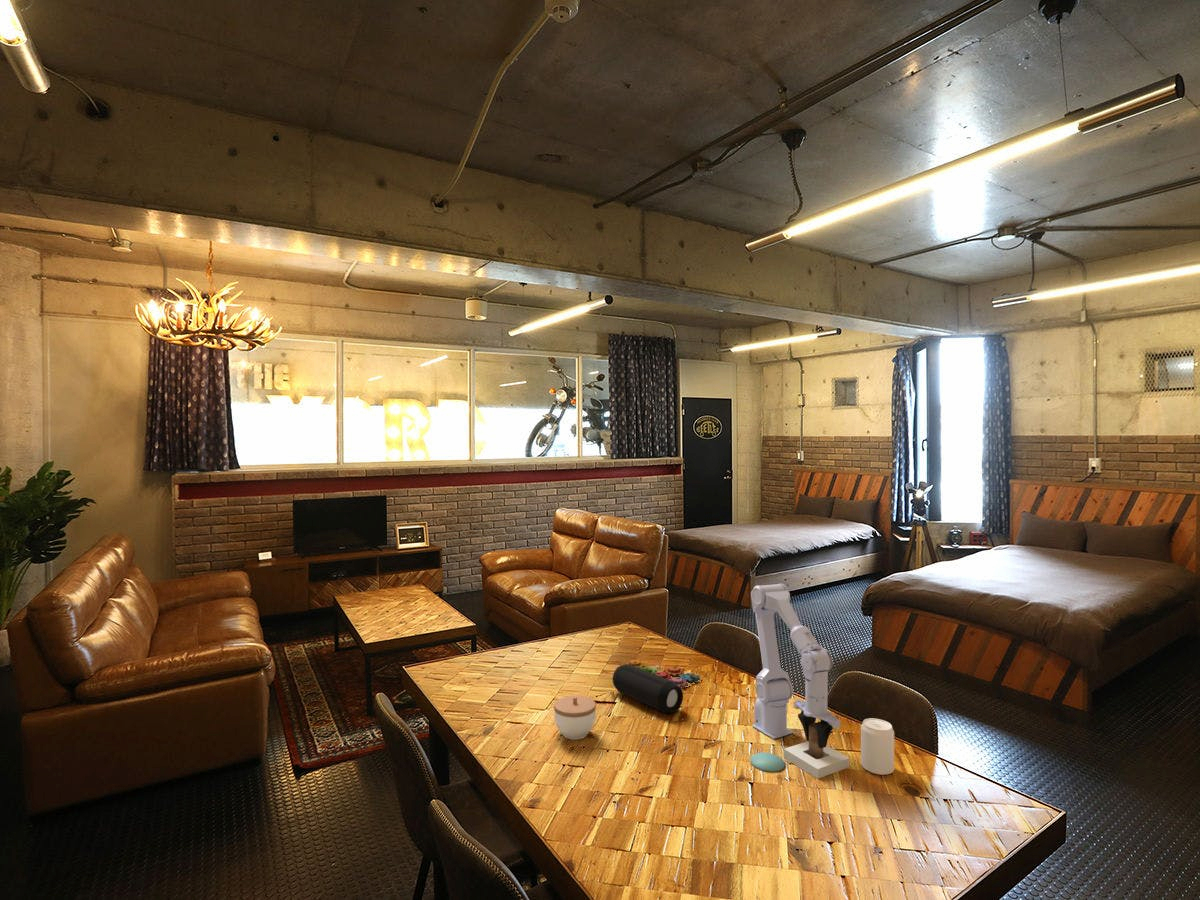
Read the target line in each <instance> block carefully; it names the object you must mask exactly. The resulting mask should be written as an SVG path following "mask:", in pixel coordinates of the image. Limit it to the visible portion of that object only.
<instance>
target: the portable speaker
mask: <svg viewBox="0 0 1200 900" xmlns="http://www.w3.org/2000/svg"><path fill="white" fill-rule="evenodd" d="M612 685H613V686H614V689H616V690H617V691H618V692H619V693H620V694H622V695H625V696H627V697H629V698H630V699H635V700H636V701H639V702H641V703H643V704H645V705H646V706H647V705H648V706H649V707H651V708H653V709H656V710H658V711H660V712H662V713H665V714H668V713H669V714H670V713H676V712H677V711H678V710H679V709H680V708H681V707H682V704H683V699H684V692H683V690H681V688H680V687H679V686H678V685H677V684H676V683H675V682H673V681H670V680H667V679H665V678H662V677H660V676H657V675H655V674H652V673H650V672H647V671H645V670H642V669H640V668H637V667H635V666H632V665H629V664H626V665H625V664H620V665H619V666H617V667H616V669H615V670H614V672H613V675H612Z"/></svg>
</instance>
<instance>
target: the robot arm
mask: <svg viewBox="0 0 1200 900" xmlns="http://www.w3.org/2000/svg"><path fill="white" fill-rule="evenodd" d="M750 599H751V606H752V611H753V613H754V615H755V621H756V627H757V635H758V643H759V648H760V649H759V650H760V654H761V655H760V657H761V662H762V670H760V672H759V673H758V674H757V675H756V676H755V680H756V685H755V693H756V696H757V698H756V700H755V702H754V706H753V707H754V709H753V711H754V719H753V720H754V724H752V725H751V726H752V727H753V728H754V729H756V730H758V731H760V732H761V733H763V734H765V735H766V736H768V737H770V738H771V739H773V740H776V739H778V738H782V737H785V736H788V735H791V734H794V731H793V730H791V729H790V728H788V727H787V726H788V723H787V722H788V721H787V720H788V719H787V718H788V717H787V715H788V714H787V713H788V710H787V709H788V705H787V704H790V700H791V699H792V697H793V695H794V687H793V685H792V683H791V682H792V681H791V680H790V677H789V676H790V675H789V673H787V672H786V671H785V670H784V669H782V668H781V667H782V666H781V661H780V653H779V648H778V647H779V646H778V642H777V641H778V640H777V634H776V627H775V620H774V615H775V613H777V614H778V615H779V616H780V618H781V619H782V620H783V622H784V623H785V625H786V627H787V628H788V630H790V634H789V638H790V640H791V641H792V643H793V645H794V646H795V648H796V650H797V651H798V653H799V654H800V656H801V658H800V664H801V667H802V671H803V674H802V675H803V676H804V678H805V679H804V680H805V683H804V685H805V688H804V689H805V690H804V692H805V694H804V697H805V699H804V700H805V701H803V700H800V699H796V700H794V701H793V709H795V710H800V712H799V713H798V714H797V718H798V720H799V722H800V724H801V725H802V728H803V732H804V737H805V740H806V742H807V741H809V724H811V723H815V726H816V729H817V734H818V746H819V748H824V747H826V745H827V744H828V741H829V737H830V735H831V732H832V731H833V729H834V730H836V729H838V728H841V719H839V718H837V717H836V716H835V715H833V714H832V713H831V712H830V711H829V710H828V686H829V684H828V677H829V675H828V674H829V673H828V672H829V671H830V670H832V667H833V658H832V655H831V653H830V651H829V650H828V649H826V648H824V647H823V646H822V645H819V642H818V641H817V640H816V638H815V636H814V635H813V634H812V633H811V632H812V631H810V629H809V627H807V626H804V625H802V624H801V621H800V620H799V618H798V615H797V614H796V611H795V610H794V608H793V606H792V604H791V602H790V601H791V593H790V592H789V590H788V588H787V586H786V585H785V584H784V583H774V584H765V585H764V584H761V585H759V584H758V585H755V586H754V587H753V589H752V590H751V592H750ZM817 719H818V720H819V721H818V722H816V721H817ZM827 746H828V745H827Z"/></svg>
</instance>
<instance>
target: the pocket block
mask: <svg viewBox="0 0 1200 900" xmlns="http://www.w3.org/2000/svg"><path fill="white" fill-rule="evenodd" d="M783 758H784V759H785V760H787V761H788V762H790V763H792V764H793V765H795V766H796V767H798V768H799V769H801V770H803V771H805V772H806V773H808V774H809V775H811V776H813V777H814V778H816V779H818V780H819V779H821V778H823V777H826V776H828V775H829V776H830V775H833V774H835V773H837V772H840V771H842V770H846V769H848V768H850V757H849V756H847V755H845V754H843V753H841V752H839V751H838V750H836V749H834V748H832V747H830V746H828V745H826V747H824V748H823V758H820V759H815V758H813V757H811V756H810V755H809V741H807V740H806V741H804V742H801V743H798V744H794V745H792V746H789V747H785V748H783Z"/></svg>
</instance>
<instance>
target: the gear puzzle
mask: <svg viewBox="0 0 1200 900" xmlns="http://www.w3.org/2000/svg"><path fill="white" fill-rule="evenodd" d="M626 664H629V665H632V666H635V667H637V668H640V669H642V670H645V671H647V672H650V673H652V674H655V675H657V676H660V677H662V678H665V679H667V680H670V681H673V682H675V683H676V684H677V685H678V686H679V687H680V688H681V687H682V688H683V689H685V688H686V687H685V686H688V685H689V684H688V683H690V684H692V683H693V682H694V683H698V682H697V681H698V680H700V679H701V677H700V676H699V675H697V674H696V673H695V672H693V671H692V672H686V673H685V671H684V670H683V669H681V668H680V667H678V666H669V668H667V669H666V670H664V669H663V670H664V671H663V672H661V671H662V670H661V669H659V670H658V668H657V667H659V664H656V666H655V665H649V666H646V665H645V663H644V662H642V661H641V660H638V659H630V660H628V661H627V662H625V663H624V665H626ZM662 666H663V667H664V666H665V665H661V666H660V667H661V668H662ZM648 667H650V668H648ZM655 668H657V670H655ZM657 671H658V672H657ZM684 673H685V674H684ZM671 676H672V677H674V678H671ZM677 677H679V678H677ZM687 682H688V683H687ZM682 688H681V690H682ZM682 691H683V690H682Z"/></svg>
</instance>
